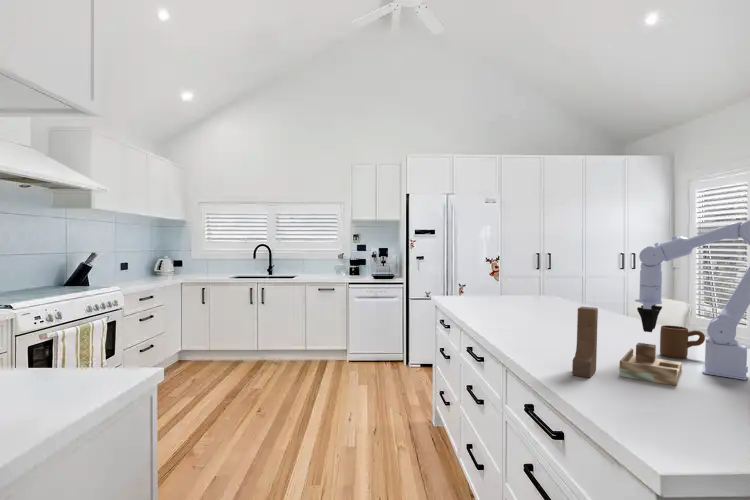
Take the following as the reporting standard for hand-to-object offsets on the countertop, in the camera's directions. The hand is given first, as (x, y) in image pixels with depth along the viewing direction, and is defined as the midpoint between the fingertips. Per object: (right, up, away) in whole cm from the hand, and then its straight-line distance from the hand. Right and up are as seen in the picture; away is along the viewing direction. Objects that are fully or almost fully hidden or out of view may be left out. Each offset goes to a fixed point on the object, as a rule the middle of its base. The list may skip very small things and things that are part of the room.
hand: (649, 330), depth 138 cm
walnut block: (-4, -8, -5) cm, 11 cm away
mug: (+15, -10, +8) cm, 20 cm away
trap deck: (-6, -10, -11) cm, 16 cm away
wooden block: (-26, -10, -13) cm, 31 cm away
